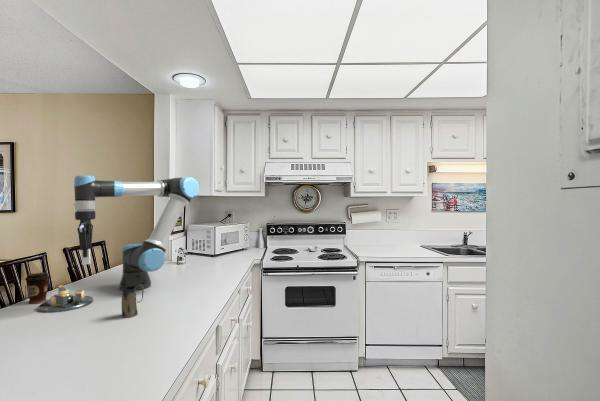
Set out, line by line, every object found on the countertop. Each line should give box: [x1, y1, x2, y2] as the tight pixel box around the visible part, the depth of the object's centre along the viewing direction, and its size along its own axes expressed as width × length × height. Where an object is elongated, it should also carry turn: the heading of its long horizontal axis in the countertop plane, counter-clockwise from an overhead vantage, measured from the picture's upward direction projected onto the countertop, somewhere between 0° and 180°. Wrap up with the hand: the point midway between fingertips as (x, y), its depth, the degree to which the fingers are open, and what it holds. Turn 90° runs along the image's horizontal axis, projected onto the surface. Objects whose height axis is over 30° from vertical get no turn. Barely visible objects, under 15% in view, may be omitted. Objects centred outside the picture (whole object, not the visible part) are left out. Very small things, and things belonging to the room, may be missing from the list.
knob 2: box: [50, 293, 67, 307], centre depth 139 cm, size 8×4×5 cm, turn 65°
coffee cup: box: [24, 272, 50, 305], centre depth 149 cm, size 9×8×13 cm
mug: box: [121, 285, 144, 319], centre depth 131 cm, size 8×6×12 cm
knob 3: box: [74, 289, 85, 302], centre depth 145 cm, size 8×4×5 cm, turn 33°
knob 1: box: [58, 284, 70, 295], centre depth 150 cm, size 8×4×5 cm, turn 47°
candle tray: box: [37, 292, 94, 313], centre depth 145 cm, size 20×20×5 cm
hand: (86, 264), depth 143 cm, fingers closed
